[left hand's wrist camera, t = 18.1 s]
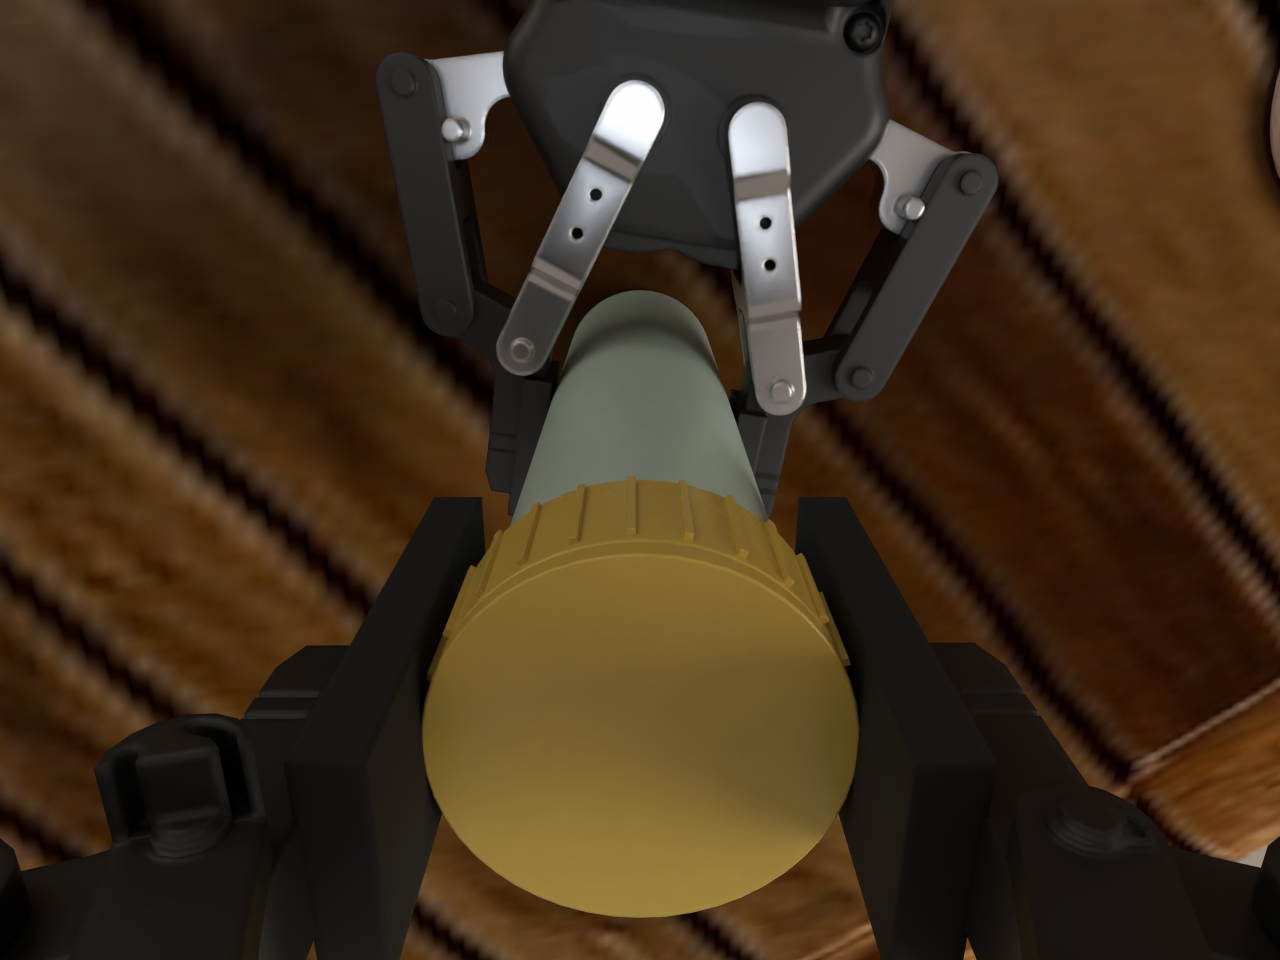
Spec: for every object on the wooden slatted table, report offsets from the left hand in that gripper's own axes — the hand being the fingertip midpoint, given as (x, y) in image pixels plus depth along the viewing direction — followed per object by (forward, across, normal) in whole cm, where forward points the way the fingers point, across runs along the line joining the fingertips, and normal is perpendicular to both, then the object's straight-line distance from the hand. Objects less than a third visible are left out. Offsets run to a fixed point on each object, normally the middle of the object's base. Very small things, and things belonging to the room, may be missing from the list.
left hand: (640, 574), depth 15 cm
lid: (-4, 0, 0) cm, 4 cm away
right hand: (+8, 0, -3) cm, 9 cm away
